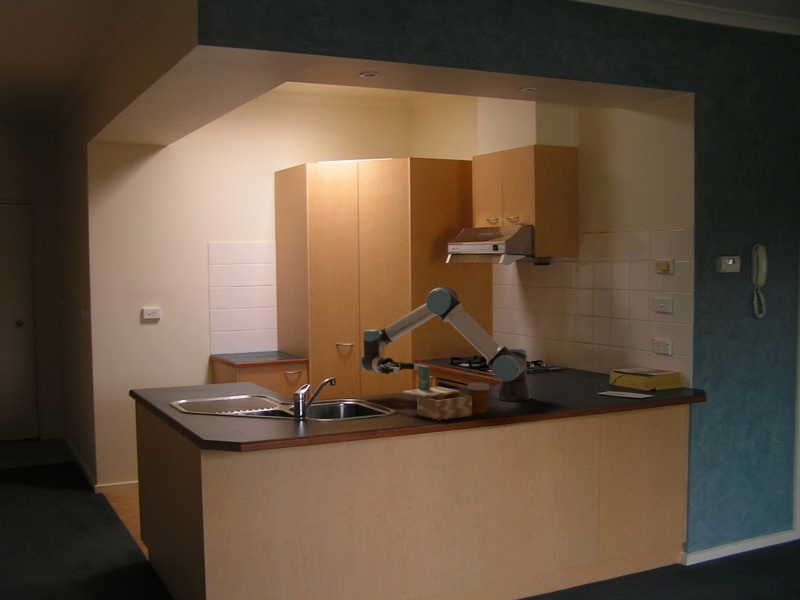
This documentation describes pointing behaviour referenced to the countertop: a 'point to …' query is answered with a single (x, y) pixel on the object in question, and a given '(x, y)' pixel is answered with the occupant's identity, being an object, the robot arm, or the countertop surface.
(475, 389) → the disposable coffee cup
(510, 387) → the robot arm
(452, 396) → the carton
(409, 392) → the lid
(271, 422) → the countertop surface
